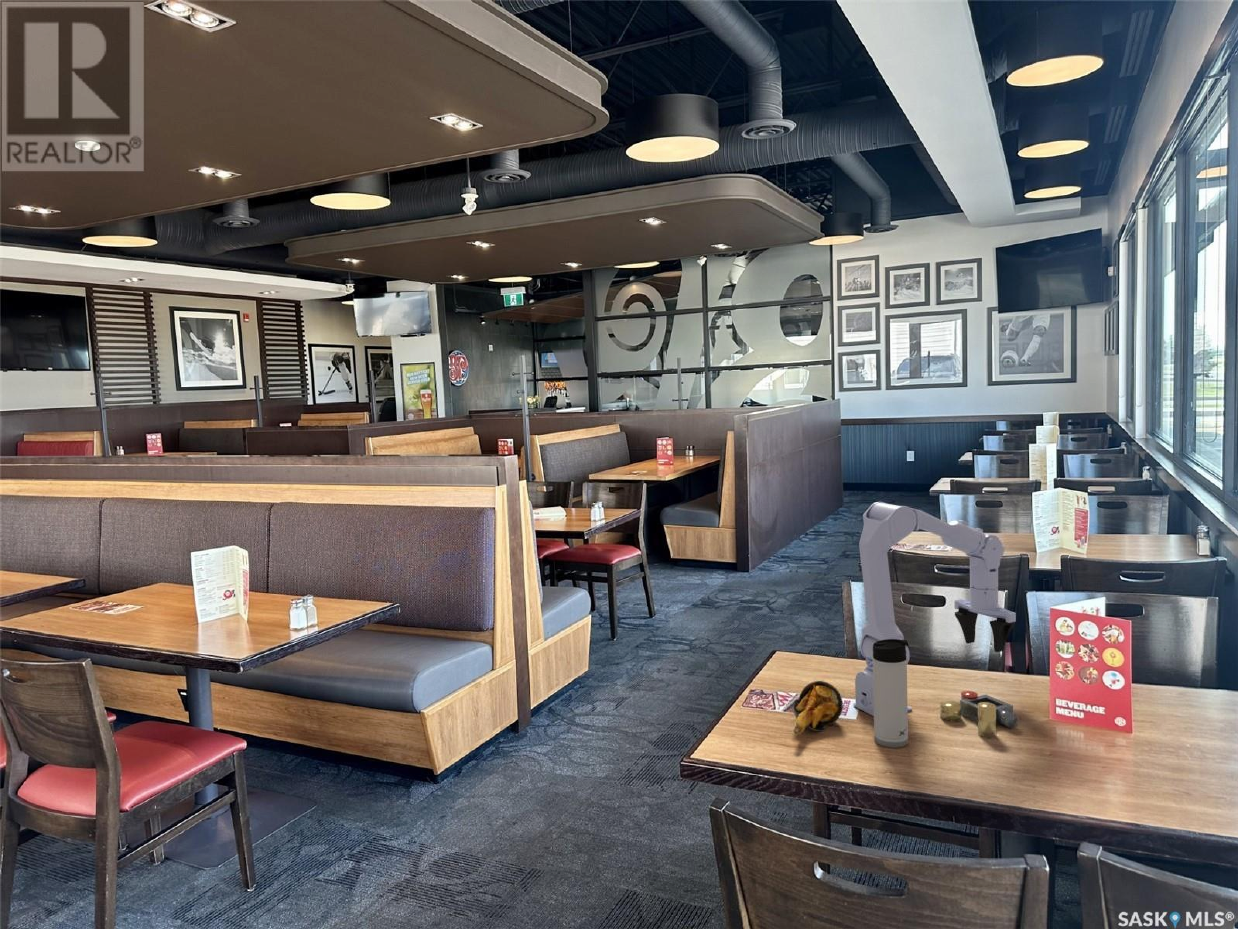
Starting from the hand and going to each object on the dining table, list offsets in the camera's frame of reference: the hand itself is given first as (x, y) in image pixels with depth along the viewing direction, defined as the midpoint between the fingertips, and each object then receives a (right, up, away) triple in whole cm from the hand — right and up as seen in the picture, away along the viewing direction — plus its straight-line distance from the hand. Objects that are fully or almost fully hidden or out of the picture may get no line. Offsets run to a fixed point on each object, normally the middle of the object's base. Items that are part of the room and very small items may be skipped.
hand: (984, 646), depth 180 cm
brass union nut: (-13, -12, -14) cm, 22 cm away
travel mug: (-28, -13, -23) cm, 39 cm away
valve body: (-6, -11, -14) cm, 19 cm away
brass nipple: (-10, -12, -22) cm, 27 cm away
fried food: (-42, -14, -16) cm, 47 cm away
